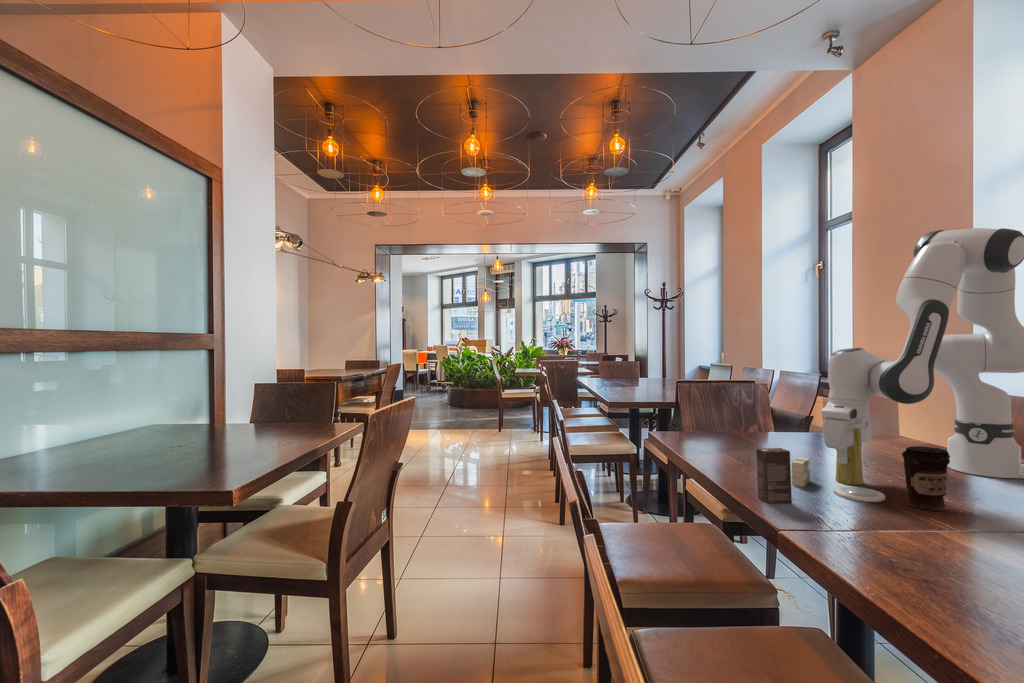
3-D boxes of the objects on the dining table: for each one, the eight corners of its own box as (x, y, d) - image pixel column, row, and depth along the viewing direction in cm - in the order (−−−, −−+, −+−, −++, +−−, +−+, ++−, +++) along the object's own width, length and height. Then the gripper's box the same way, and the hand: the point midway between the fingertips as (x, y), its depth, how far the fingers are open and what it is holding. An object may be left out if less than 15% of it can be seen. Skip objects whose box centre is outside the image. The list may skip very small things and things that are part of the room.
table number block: (799, 479, 128) (799, 457, 128) (810, 481, 126) (810, 458, 126) (792, 485, 123) (791, 462, 123) (803, 487, 121) (802, 463, 121)
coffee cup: (963, 514, 100) (962, 453, 101) (918, 512, 102) (917, 452, 102) (935, 501, 109) (934, 445, 109) (894, 499, 111) (893, 444, 111)
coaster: (844, 486, 121) (843, 483, 121) (892, 496, 112) (891, 493, 112) (826, 494, 115) (826, 490, 115) (875, 505, 107) (875, 501, 107)
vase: (869, 485, 122) (868, 430, 122) (845, 485, 122) (844, 430, 122) (852, 478, 128) (852, 425, 128) (830, 478, 128) (829, 426, 128)
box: (781, 497, 113) (780, 447, 113) (792, 503, 108) (791, 451, 109) (756, 497, 113) (755, 447, 113) (766, 503, 108) (765, 451, 109)
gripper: (851, 404, 133) (852, 453, 133) (817, 411, 122) (818, 464, 122) (877, 407, 128) (878, 458, 128) (845, 414, 117) (846, 469, 117)
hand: (849, 461), depth 125 cm, fingers closed on vase, 5 cm apart
